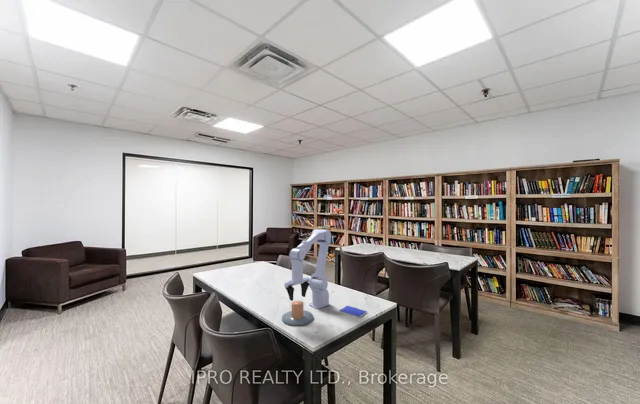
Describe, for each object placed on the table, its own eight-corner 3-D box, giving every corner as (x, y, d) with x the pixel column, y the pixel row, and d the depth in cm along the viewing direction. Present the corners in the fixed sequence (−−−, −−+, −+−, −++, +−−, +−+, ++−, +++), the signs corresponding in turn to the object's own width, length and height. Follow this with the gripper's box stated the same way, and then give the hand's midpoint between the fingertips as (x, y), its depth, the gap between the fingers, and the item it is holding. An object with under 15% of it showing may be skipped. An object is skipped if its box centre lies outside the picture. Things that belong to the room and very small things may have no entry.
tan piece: (298, 313, 137) (298, 299, 137) (305, 316, 132) (305, 303, 132) (289, 316, 133) (289, 302, 133) (296, 320, 128) (296, 306, 128)
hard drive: (339, 309, 140) (359, 316, 133) (347, 305, 147) (366, 310, 139) (339, 312, 140) (359, 319, 133) (347, 307, 147) (366, 313, 139)
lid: (301, 309, 144) (301, 307, 144) (319, 319, 132) (319, 317, 132) (276, 317, 133) (276, 315, 133) (293, 329, 121) (293, 327, 121)
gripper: (289, 276, 125) (290, 304, 125) (313, 271, 134) (313, 297, 134) (282, 273, 130) (282, 300, 130) (305, 268, 140) (305, 293, 140)
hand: (297, 298), depth 133 cm, fingers open, 7 cm apart
